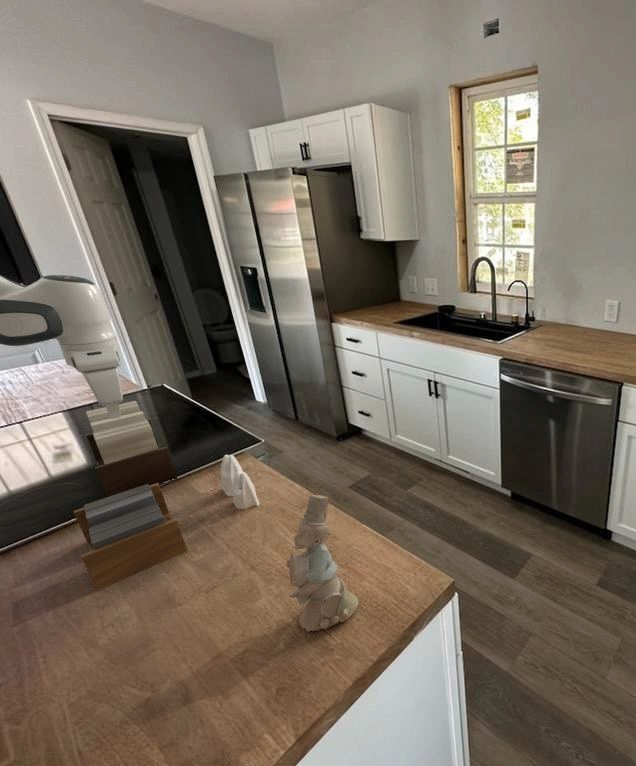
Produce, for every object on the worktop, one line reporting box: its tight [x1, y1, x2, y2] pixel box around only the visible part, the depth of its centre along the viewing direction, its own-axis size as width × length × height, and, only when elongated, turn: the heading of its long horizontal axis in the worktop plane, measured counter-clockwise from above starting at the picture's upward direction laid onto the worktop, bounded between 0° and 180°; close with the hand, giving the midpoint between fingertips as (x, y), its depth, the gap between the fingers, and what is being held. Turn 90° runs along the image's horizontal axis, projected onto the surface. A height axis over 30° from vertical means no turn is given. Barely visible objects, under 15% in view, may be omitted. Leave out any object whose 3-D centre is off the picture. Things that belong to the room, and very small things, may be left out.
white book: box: [89, 410, 147, 433], centre depth 97 cm, size 2×9×13 cm, turn 138°
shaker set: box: [220, 454, 260, 510], centre depth 88 cm, size 12×4×11 cm, turn 49°
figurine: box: [285, 494, 359, 632], centre depth 62 cm, size 9×8×20 cm
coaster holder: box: [73, 483, 188, 592], centre depth 74 cm, size 16×12×10 cm
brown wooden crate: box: [85, 400, 178, 498], centre depth 97 cm, size 21×12×14 cm, turn 48°
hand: (112, 410), depth 94 cm, fingers open, 8 cm apart
